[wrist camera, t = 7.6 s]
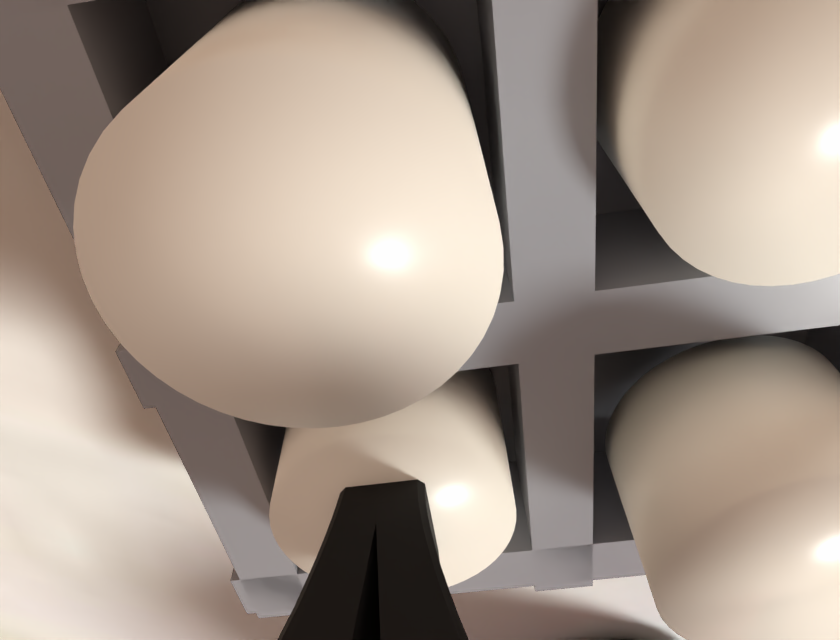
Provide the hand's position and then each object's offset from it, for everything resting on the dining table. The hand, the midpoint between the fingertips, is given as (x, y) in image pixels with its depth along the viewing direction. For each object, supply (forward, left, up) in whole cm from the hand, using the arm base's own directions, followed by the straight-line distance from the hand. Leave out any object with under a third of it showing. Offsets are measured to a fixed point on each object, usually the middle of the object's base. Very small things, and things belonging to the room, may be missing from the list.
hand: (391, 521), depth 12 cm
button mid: (-6, -6, -3) cm, 9 cm away
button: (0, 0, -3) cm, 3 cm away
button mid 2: (-6, 0, -1) cm, 6 cm away
